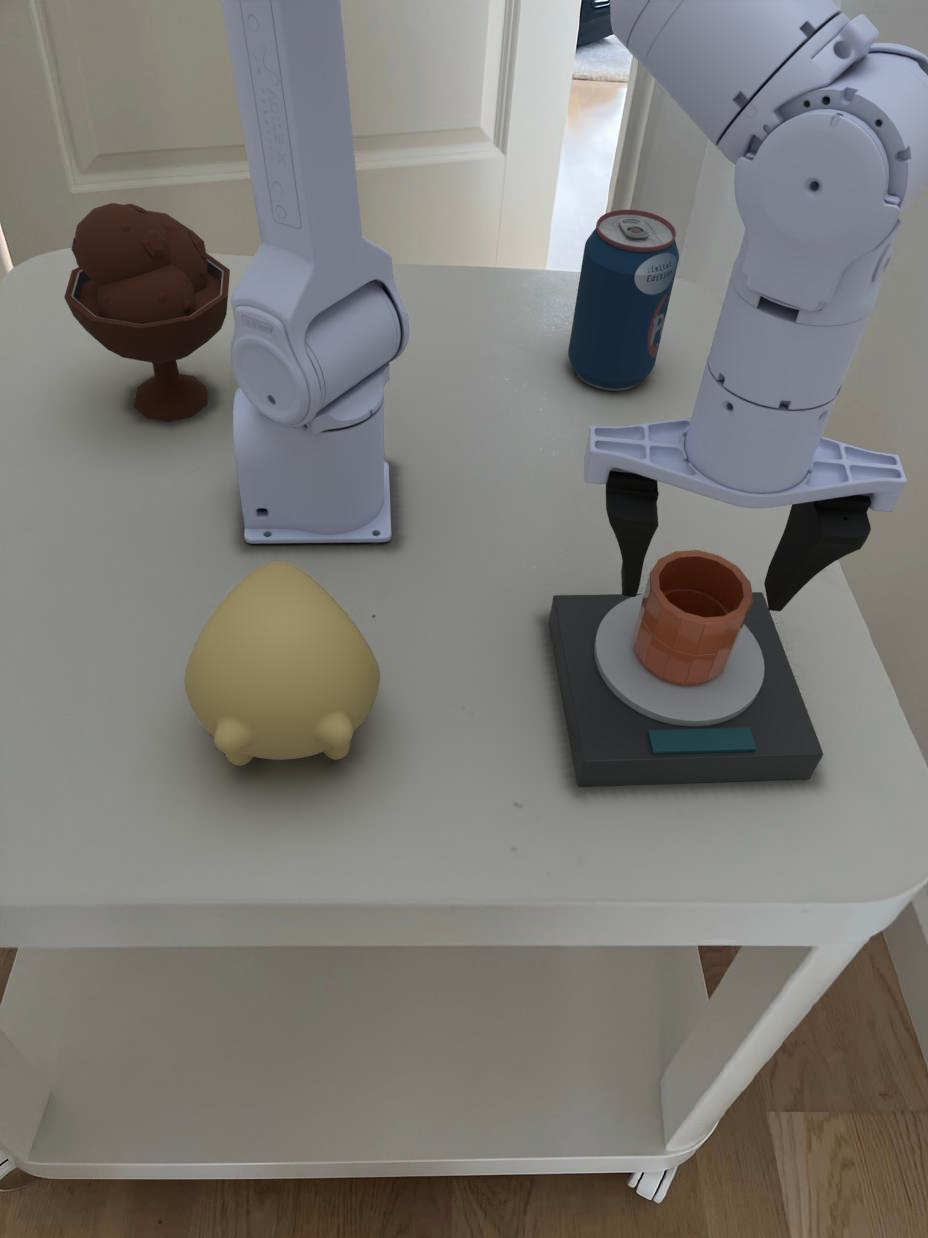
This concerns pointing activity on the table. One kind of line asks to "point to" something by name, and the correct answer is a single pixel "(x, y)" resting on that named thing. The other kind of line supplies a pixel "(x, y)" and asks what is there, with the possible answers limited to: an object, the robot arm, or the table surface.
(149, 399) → the ice cream bowl
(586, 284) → the soda can
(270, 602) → the toy pig
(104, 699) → the table surface
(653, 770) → the scale
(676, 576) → the terracotta cup
